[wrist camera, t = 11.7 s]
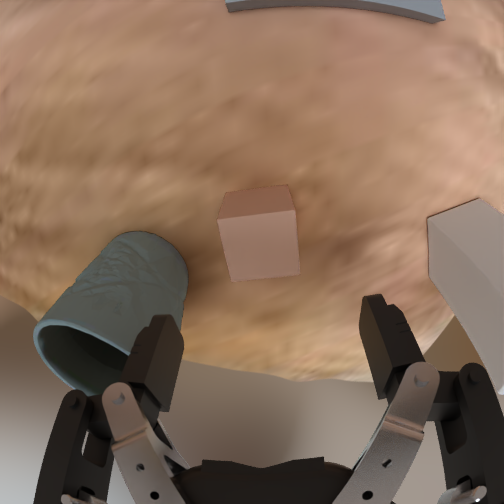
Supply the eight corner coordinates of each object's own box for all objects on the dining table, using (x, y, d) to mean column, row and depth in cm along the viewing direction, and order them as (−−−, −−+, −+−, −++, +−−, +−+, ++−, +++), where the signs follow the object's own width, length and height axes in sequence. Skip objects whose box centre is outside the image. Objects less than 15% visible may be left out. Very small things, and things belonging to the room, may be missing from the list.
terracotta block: (236, 244, 23) (231, 282, 18) (226, 192, 20) (216, 219, 16) (292, 238, 22) (300, 274, 18) (287, 184, 20) (295, 209, 16)
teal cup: (96, 214, 21) (12, 302, 11) (205, 232, 22) (165, 351, 12) (108, 300, 27) (61, 390, 16) (196, 320, 27) (173, 426, 17)
